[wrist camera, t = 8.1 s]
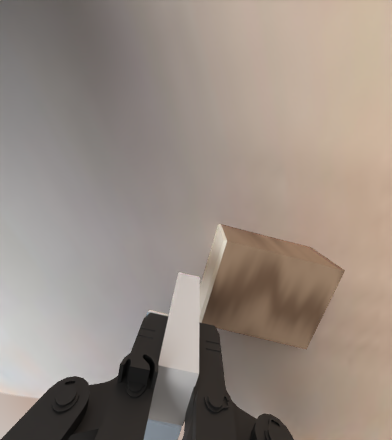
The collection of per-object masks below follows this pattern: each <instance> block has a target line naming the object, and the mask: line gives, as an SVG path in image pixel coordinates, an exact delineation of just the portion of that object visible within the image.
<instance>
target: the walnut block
mask: <svg viewBox="0 0 392 440" xmlns="http://www.w3.org/2000/svg"><path fill="white" fill-rule="evenodd" d="M344 271H345V270H343V269H342V268H340V267H339V266H337V265H336V264H334V263H333V262H331V261H330V260H328V259H327V258H326V257H324V256H323V255H321V254H320V253H318V252H317V251H315V250H314V249H312V248H311V247H307V246H303V245H299V244H295V243H291V242H288V241H284V240H280V239H276V238H272V237H268V236H264V235H260V234H256V233H253V232H249V231H245V230H241V229H237V228H233V227H229V226H225V225H221V224H218V227H217V230H216V233H215V237H214V240H213V244H212V247H211V250H210V254H209V257H208V261H207V264H206V267H205V271H204V274H203V278H202V281H201V284H200V315H199V322H200V323H205V324H209V325H214V326H215V327H216V328H219V329H223V330H227V331H231V332H236V333H240V334H244V335H248V336H252V337H257V338H261V339H265V340H269V341H273V342H277V343H282V344H286V345H290V346H294V347H298V348H302V349H307V347H308V345H309V343H310V341H311V339H312V337H313V335H314V333H315V331H316V329H317V327H318V324H319V322H320V320H321V318H322V316H323V314H324V312H325V310H326V308H327V306H328V304H329V302H330V300H331V298H332V296H333V294H334V292H335V290H336V288H337V286H338V283H339V281H340V279H341V277H342V275H343V273H344Z"/></svg>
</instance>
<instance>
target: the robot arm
mask: <svg viewBox="0 0 392 440" xmlns="http://www.w3.org/2000/svg"><path fill="white" fill-rule="evenodd" d="M199 315H200V277H199V276H194V275H190V274H185V273H181V272H178V276H177V280H176V284H175V289H174V293H173V297H172V301H171V306H170V310H169V314H168V316H164V315H160V314H155V313H151V312H150V313H149V314H148V315H147V316H146V317H145V318H144V320H143V322H142V325H141V327H140V330H139V333H138V335H137V338H136V340H135V343H134V346H133V348H132V351H131V353H130V354H129V355H127V356H126V357H125V358H124V359H123V361H122V362H121V364H120V368H119V374H118V376H117V377H116V378H114V379H112V380H111V381H108V382H105V383H100V384H94V385H88V382H87V381H86V380H84V379H83V378H81V377H77V376H74V377H67V378H65V379H63V380H61V381H59V382H57V383H56V384H55V385H53V386H52V387H51V388H50V389H49V390H48V391H47V392H46V393H45V394H44V395H43V396H42V397H41V398H40V399H39V400H38V401H37V402H36V403H35V404H34V405H33V406H32V407H31V409H30V410H29V411H28V412H27V413H26V414H25V415H24V416H23V417H22V418H21V419H20V420H19V421H18V422H17V423H16V424H15V425H14V426H13V427H12V428H11V429H10V430H9V432H7V434H6V435H5V436H4V437H3V438H2V439H1V440H144V435H145V430H146V426H147V421H148V419H151V420H156V421H161V422H166V423H171V424H176V425H181V426H183V423H184V420H185V429H184V431H185V432H184V436H183V439H182V440H294V439H293V437H292V435H291V434H290V432H289V430H288V429H287V427H286V426H285V425H284V424H283V423H282V422H281V421H280V420H279V419H278V418H276V417H274V416H273V415H270V414H262V415H260V416H259V417H258V419H256V418H254V417H252V416H251V415H249V414H247V413H246V412H244V411H243V410H241V409H240V408H238V407H237V406H236V405H235V404H234V403H233V402H232V400H231V398H230V396H229V394H228V393H227V391H226V387H225V381H224V372H223V363H222V354H221V346H220V337H219V333H218V331H217V329H216V327H215V326H214V325H209V324H205V323H200V322H199Z"/></svg>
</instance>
